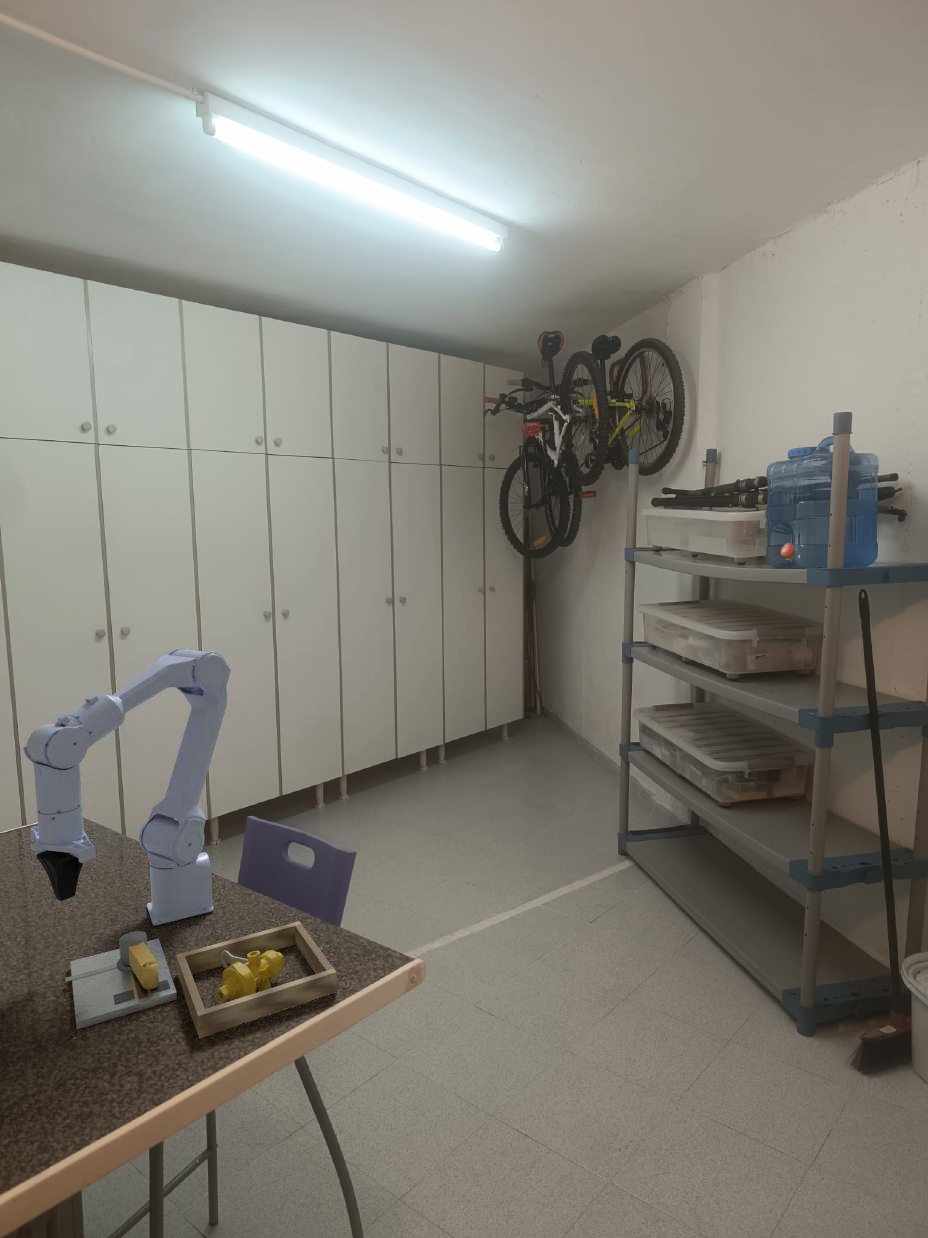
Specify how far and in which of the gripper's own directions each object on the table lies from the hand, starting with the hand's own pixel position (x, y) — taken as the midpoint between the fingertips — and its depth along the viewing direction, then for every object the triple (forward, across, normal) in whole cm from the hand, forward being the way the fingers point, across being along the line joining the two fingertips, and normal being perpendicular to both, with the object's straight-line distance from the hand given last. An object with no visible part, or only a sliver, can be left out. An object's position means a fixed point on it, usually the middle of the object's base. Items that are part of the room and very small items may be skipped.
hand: (65, 897), depth 107 cm
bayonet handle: (+8, +13, +3) cm, 16 cm away
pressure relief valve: (+10, +26, +10) cm, 29 cm away
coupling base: (+10, +12, +1) cm, 15 cm away
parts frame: (+10, +27, +12) cm, 31 cm away
